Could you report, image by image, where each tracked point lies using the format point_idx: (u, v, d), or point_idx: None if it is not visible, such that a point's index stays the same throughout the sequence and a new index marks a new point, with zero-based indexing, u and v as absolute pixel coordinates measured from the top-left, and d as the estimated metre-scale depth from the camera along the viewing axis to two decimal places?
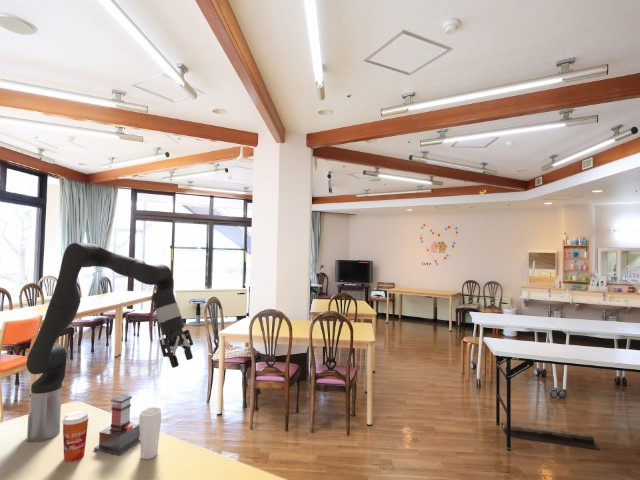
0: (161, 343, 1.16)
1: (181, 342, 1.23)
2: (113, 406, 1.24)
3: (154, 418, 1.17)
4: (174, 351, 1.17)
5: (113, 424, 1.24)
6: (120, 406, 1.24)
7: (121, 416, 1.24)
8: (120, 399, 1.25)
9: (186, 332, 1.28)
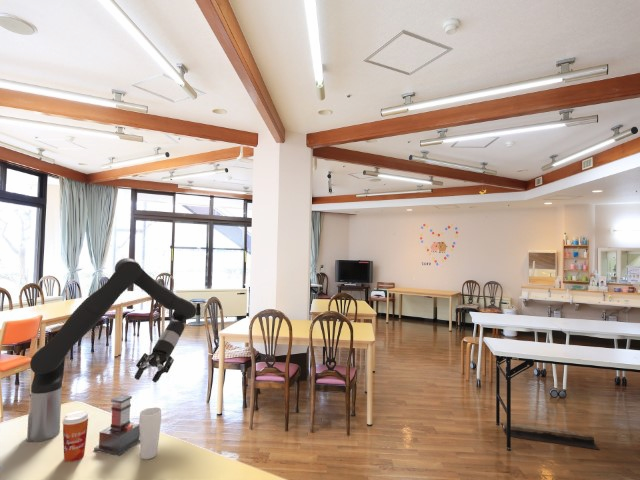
0: (170, 360, 1.41)
1: None
2: (113, 406, 1.24)
3: (154, 418, 1.17)
4: None
5: (113, 424, 1.24)
6: (120, 406, 1.24)
7: (121, 416, 1.24)
8: (120, 399, 1.25)
9: None
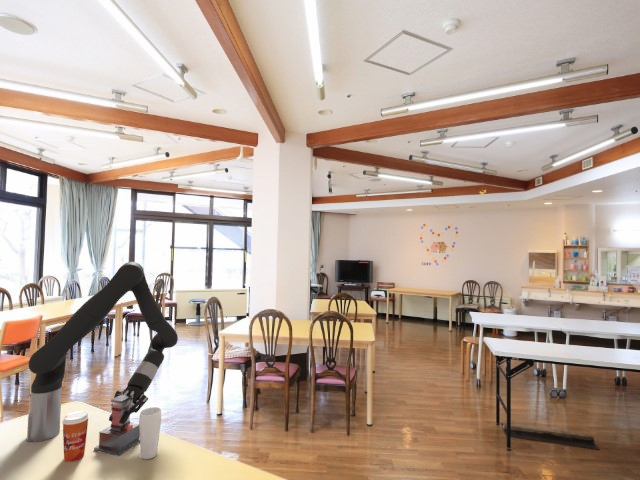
0: (143, 399, 1.28)
1: None
2: (113, 406, 1.24)
3: (154, 418, 1.17)
4: None
5: (113, 424, 1.24)
6: (120, 406, 1.24)
7: (121, 416, 1.24)
8: (120, 399, 1.25)
9: (121, 394, 1.33)
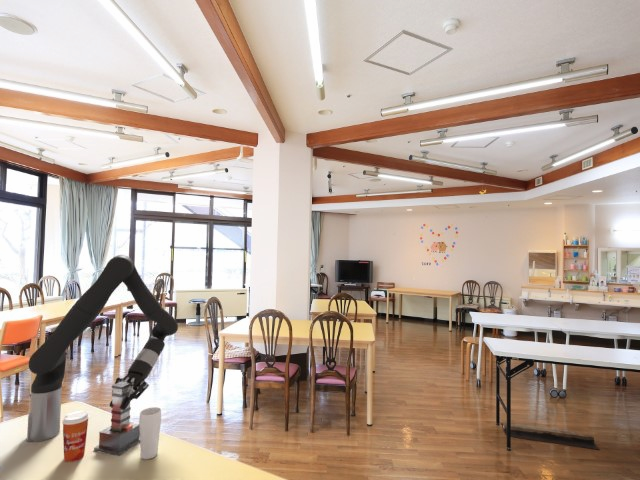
0: (143, 386, 1.28)
1: None
2: (114, 392, 1.25)
3: (154, 418, 1.17)
4: None
5: (114, 410, 1.24)
6: (121, 392, 1.24)
7: (122, 402, 1.24)
8: (121, 385, 1.25)
9: None
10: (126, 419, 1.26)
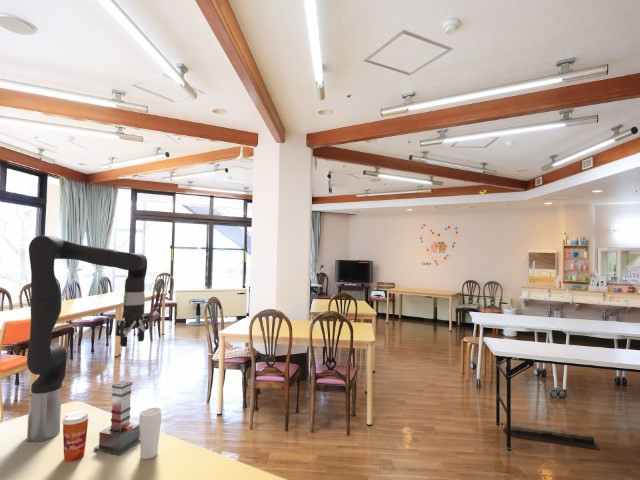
0: (117, 324, 1.33)
1: (137, 326, 1.39)
2: (114, 392, 1.25)
3: (154, 418, 1.17)
4: (126, 333, 1.34)
5: (114, 410, 1.24)
6: (121, 392, 1.24)
7: (122, 401, 1.24)
8: (121, 385, 1.25)
9: (145, 317, 1.44)
10: (126, 419, 1.26)
